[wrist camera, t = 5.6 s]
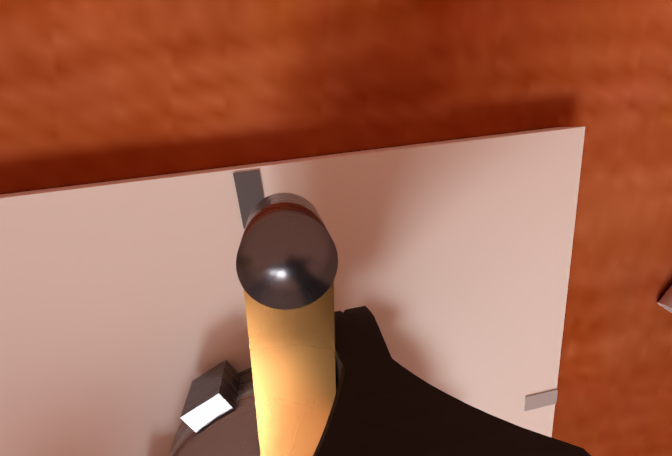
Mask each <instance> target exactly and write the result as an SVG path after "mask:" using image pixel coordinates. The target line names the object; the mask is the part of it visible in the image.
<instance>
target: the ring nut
mask: <svg viewBox="0 0 672 456" xmlns="http://www.w3.org/2000/svg"><path fill="white" fill-rule="evenodd" d="M337 268H338V254H337V249H336V246H335V244H334V242H333V240H332V238H331V236H330V234H329V232H328V230H327V228H326V227H325V225H324V223H323V221H322V219H321V217H320V215H319V213H318V212H317V210H316V208H315V207H314V206H313V205H312V204H311V203H310V202H309V201H308V200H307V199H305V198H303V197H302V196H299V195H297V194H293V193H276V194H272V195H270V196H267V197H265V198H264V199H262V200H261V201H259V202H258V203H257V204H256V205H255V207H254V208H253V209H252V211H251V213H250V215H249V217H248V220H247V223H246V226H245V230H244V233H243V236H242V239H241V242H240V246H239V249H238V253H237V257H236V270H237V275H238V278H239V281H240V283H241V285H242V287H243V288H244V298H245V307H246V317H247V327H248V337H249V347H250V356H251V366H252V367H251V368H249V369H247V370H244V371H242V372H240V373H238V372H237V371H236V370H235V369H234V368H233V367H232V366H231V365H230V363H229V362H228V361H227V360H225V361H223V362H221V363H220V364H218V365H217V366H215V367H214V368H212V369H210V370H209V371H207V372H206V373H204V374H203V375H201V376H199V377H198V378H196V379H195V380H193V381H192V383H191V386H190V389H189V392H188V395H187V398H186V401H185V404H184V407H183V410H182V413H181V416H180V418H181V419H182V420H183V422H182V424H181V425H180V427H179V428H178V430H177V433H176V435H175V437H174V440H173V442H172V445H171V448H170V451H169V454H168V456H313V455H314V452H315V450H316V448H317V446H318V443H319V441H320V439H321V436H322V434H323V431H324V428H325V426H326V423H327V420H328V417H329V414H330V411H331V408H332V405H333V402H334V398H335V395H336V375H335V324H334V279H335V276H336V273H337Z"/></svg>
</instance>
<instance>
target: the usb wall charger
mask: <svg viewBox="0 0 672 456" xmlns="http://www.w3.org/2000/svg"><path fill="white" fill-rule="evenodd" d="M657 303H658V304H659V305H661V306H662V307H664V308H665V309H666V310H668V311H669V312H671V313H672V285H671V286H670V287H669V289H668V290H667V291H666V292H665V294H664V295H663V296H662V297H661V299H660V300H659V301H658V302H657Z"/></svg>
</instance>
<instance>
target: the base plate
mask: <svg viewBox="0 0 672 456" xmlns="http://www.w3.org/2000/svg"><path fill="white" fill-rule="evenodd" d="M584 135H585V127H555V128H547V129H538V130H530V131H522V132H513V133H505V134H497V135H489V136H480V137H472V138H464V139H456V140H447V141H439V142H431V143H422V144H414V145H406V146H398V147H389V148H381V149H373V150H365V151H356V152H348V153H340V154H331V155H323V156H315V157H307V158H298V159H290V160H282V161H274V162H265V163H257V164H249V165H240V166H232V167H224V168H216V169H207V170H199V171H191V172H183V173H174V174H166V175H158V176H149V177H141V178H133V179H125V180H116V181H108V182H100V183H91V184H83V185H75V186H67V187H58V188H50V189H42V190H34V191H25V192H17V193H9V194H0V456H168V454H169V451H170V448H171V445H172V442H173V440H174V437H175V435H176V433H177V430H178V428H179V427H180V425H181V424H182V422H183V420H182V419H181V418H180V416H181V413H182V410H183V407H184V404H185V401H186V398H187V395H188V392H189V389H190V386H191V383H192V381H193V380H195V379H196V378H198V377H199V376H201V375H203V374H204V373H206V372H207V371H209V370H210V369H212V368H214V367H215V366H217V365H218V364H220V363H221V362H223V361H225V360H227V361H228V362H229V363H230V365H231V366H232V367H233V368H234V369H235V370H236V371H237V372H238V373H240V372H242V371H244V370H247V369H249V368H251V367H252V366H251V356H250V347H249V337H248V327H247V317H246V307H245V298H244V288H243V287H242V285H241V283H240V281H239V278H238V275H237V270H236V257H237V253H238V249H239V246H240V242H241V239H242V236H243V233H244V230H245V226H246V223H247V220H248V217H249V215H250V213H251V211H252V209H253V208H254V207H255V205H256V204H257V203H258V202H259V201H261V200H262V199H264V198H265V197H267V196H270V195H272V194H276V193H293V194H297V195H299V196H302V197H303V198H305V199H307V200H308V201H309V202H310V203H311V204H312V205H313V206H314V207H315V208H316V210H317V212H318V213H319V215H320V217H321V219H322V221H323V223H324V225H325V227H326V228H327V230H328V232H329V234H330V236H331V238H332V240H333V242H334V244H335V246H336V249H337V254H338V268H337V273H336V276H335V279H334V312H336V311H342V312H344V311H345V310H346V309H351V308H356V307H361V306H366V307H367V308H368V309H369V310H370V311H371V313H372V314H373V315H374V317H375V319H376V322H377V324H378V326H379V329H380V331H381V333H382V336H383V338H384V341H385V343H386V345H387V348H388V350H389V352H390V355H391V357H392V359H394V360H395V361H396V362H398V363H399V364H400V365H402V366H403V367H404V368H406V369H407V370H409V371H410V372H412V373H413V374H414V375H416V376H418V377H419V378H421V379H422V380H424V381H426V382H427V383H429V384H430V385H432V386H434V387H436V388H438V389H439V390H441V391H443V392H445V393H447V394H449V395H451V396H453V397H455V398H457V399H459V400H460V401H462V402H464V403H466V404H468V405H471V406H473V407H475V408H477V409H479V410H481V411H484V412H486V413H488V414H491V415H493V416H495V417H498V418H500V419H503V420H505V421H507V422H510V423H512V424H515V425H517V426H520V427H522V428H525V429H528V430H531V431H534V432H537V433H540V434H542V435H545V436H548V437H552V427H553V418H554V409H555V404H556V401H557V392H558V389H557V382H558V373H559V363H560V354H561V345H562V336H563V327H564V318H565V308H566V299H567V290H568V281H569V272H570V263H571V254H572V244H573V235H574V226H575V217H576V208H577V199H578V190H579V180H580V171H581V162H582V153H583V144H584Z"/></svg>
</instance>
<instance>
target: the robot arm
mask: <svg viewBox="0 0 672 456" xmlns="http://www.w3.org/2000/svg"><path fill="white" fill-rule="evenodd" d="M334 324H335V375H336V395H335V398H334V402H333V405H332V408H331V411H330V414H329V417H328V420H327V423H326V426H325V428H324V431H323V434H322V436H321V439H320V441H319V443H318V446H317V448H316V450H315V452H314V455H313V456H591V455H590V454H589V453H588V452H586V451H585V450H584V449H583V448H580V447H577V446H574V445H572V444H569V443H566V442H563V441H560V440H557V439H554V438H551V437H548V436H545V435H542V434H540V433H537V432H534V431H531V430H528V429H525V428H522V427H520V426H517V425H515V424H512V423H510V422H507V421H505V420H503V419H500V418H498V417H495V416H493V415H491V414H488V413H486V412H484V411H481V410H479V409H477V408H475V407H473V406H471V405H468V404H466V403H464V402H462V401H460V400H459V399H457V398H455V397H453V396H451V395H449V394H447V393H445V392H443V391H441V390H439V389H438V388H436V387H434V386H432V385H430V384H429V383H427V382H426V381H424V380H422V379H421V378H419V377H418V376H416V375H414V374H413V373H412V372H410V371H409V370H407V369H406V368H404V367H403V366H402V365H400V364H399V363H398V362H396V361H395V360H394V359H392V357H391V355H390V352H389V350H388V348H387V345H386V343H385V341H384V338H383V336H382V333H381V331H380V329H379V326H378V324H377V322H376V319H375V317H374V315H373V314H372V313H371V311H370V310H369V309H368V308H367V307H366V306H361V307H356V308H351V309H346V310H345V311H344V312H342V311H336V312H334Z"/></svg>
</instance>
